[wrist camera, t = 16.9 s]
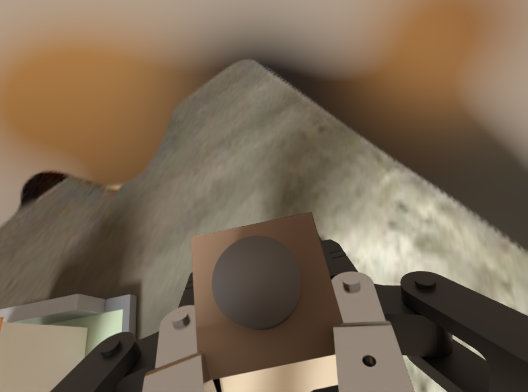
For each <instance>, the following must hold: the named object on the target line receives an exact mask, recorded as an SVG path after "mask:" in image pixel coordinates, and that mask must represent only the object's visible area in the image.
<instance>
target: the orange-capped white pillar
mask: <svg viewBox="0 0 528 392" xmlns="http://www.w3.org/2000/svg"><path fill="white" fill-rule="evenodd" d="M3 318H4V317H0V392H50V391H51V390H52V389H53V388H54V387H55V386H56V385H57V384H58V383H59V382H60V381H61V380H62V379H63V378H64V377H65V376H66V375H67V374H68V373H70V372H71V371H72V370H73V369H74V368H75V367H76V366H77V365H78V364H79V363H80V362H81V361H82V360H83V359H84V358H85V349H86V340H87V331H88V328H87V327H70V326H54V325H38V324H22V323H5V322H3Z"/></svg>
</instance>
